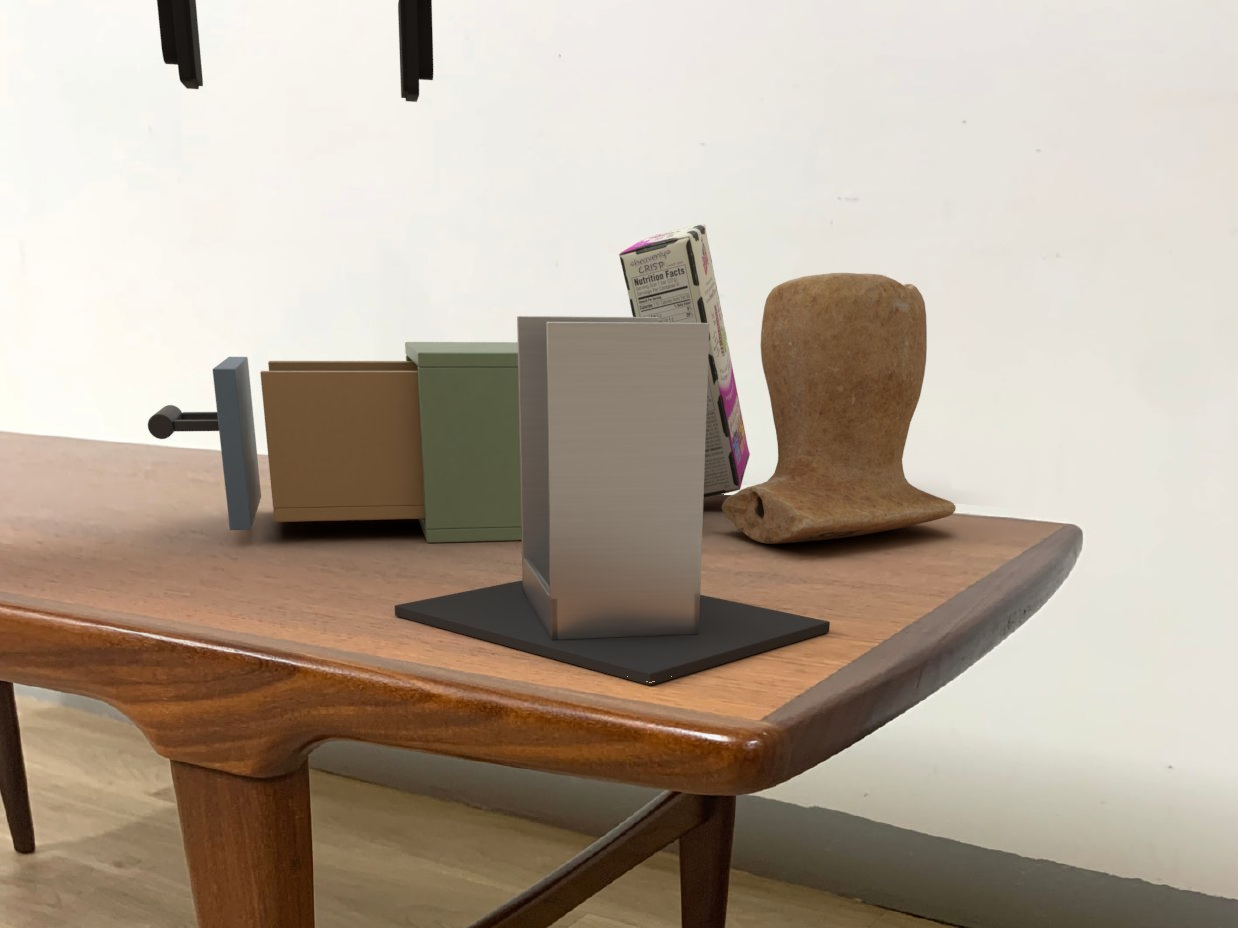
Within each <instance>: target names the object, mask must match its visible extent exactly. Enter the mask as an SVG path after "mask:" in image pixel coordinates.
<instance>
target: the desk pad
mask: <svg viewBox="0 0 1238 928" xmlns="http://www.w3.org/2000/svg"><path fill="white" fill-rule="evenodd" d="M394 616H396V617H399V618H402V619H406V620H410V621H412V622H413V621H414V622H417V623H421V624H425V625H428V626H431V627H436V628H439V629H442V630H446V631H450V632H453V633H457V634H461V635H465V636H468V637H471V638H475V639H479V640H483V641H486V642H490V643H493V644H498V645H501V646H504V647H508V648H512V649H516V650H520V651H522V652H526V653H530V654H534V655H537V656H541V657H543V658H547V659H548V658H549V659H552V660H556V661H560V662H563V663H566V664H569V665H570V664H571V665H574V666H578V667H582V668H585V669H588V670H593V671H596V672H599V673H602V674H603V673H604V674H607V675H610V676H614V677H618V678H621V679H625V680H629V681H632V682H637V683H640V684H644V685H647V686H654V685H656V684H660V683H663V682H667V681H670V680H673V679H676V678H680V677H683V676H687V675H690V674H693V673H697V672H700V671H703V670H707V669H710V668H714V667H717V666H721V665H723V664H727V663H731V662H734V661H737V660H741V659H743V658H747V657H750V656H754V655H757V654H760V653H764V652H767V651H770V650H771V651H772V650H774V649H777V648H781V647H784V646H787V645H790V644H793V643H794V644H795V643H797V642H800V641H804V640H807V639H810V638H814V637H817V636H820V635H824V634H828V633H829V632H830V627H831V621H828V620H824V619H819V618H815V617H811V616H810V617H808V616H805V615H801V614H795V613H790V612H786V611H782V610H781V611H780V610H775V609H771V608H766V607H763V606H762V607H761V606H756V605H751V604H747V603H742V602H738V601H732V600H727V599H724V598H718V597H713V596H710V595H709V596H708V595H705V594H700V617H699V634H691V635H667V636H643V637H619V638H595V639H571V640H551V638H550V637H549V635H548V633H547V632H546V630H545V629H544V627H543V625H542V624H541V622H540V621H539V619H538V617H537V616H536V614H535V612H534V611H533V609H532V608H531V606H530V604H529V603H528V601H527V599H526V598H525V596H524V595H523V581H522V579H520V580H516V581H511V582H506V583H502V584H495V585H491V586H485V587H481V588H476V589H471V590H465V591H461V592H455V593H450V594H445V595H440V596H436V597H430V598H426V599H421V600H420V599H419V600H415V601H410V602H405V603H400V604H395V605H394ZM627 676H628V677H627ZM671 676H672V677H671ZM646 681H648V682H646ZM652 681H655V682H652ZM649 682H652V683H649Z"/></svg>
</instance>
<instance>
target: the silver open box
mask: <svg viewBox="0 0 1238 928" xmlns="http://www.w3.org/2000/svg"><path fill="white" fill-rule="evenodd" d="M516 332H517V333H516V334H517V335H516V336H517V342H518V388H519V436H520V484H521V533H522V540H521V572H522V573H521V574H522V576H521V577H522V579H521V580H522V581H523V595H524V596H525V598H526V599H527V601H528V603H529V604H530V606H531V608H532V609H533V611H534V612H535V614H536V616H537V617H538V619H539V621H540V622H541V624H542V625H543V627H544V629H545V630H546V632H547V633H548V635H549V637H550V638H551V640H571V639H595V638H619V637H643V636H667V635H691V634H699V617H700V595H701V586H702V585H701V584H702V555H703V553H702V552H703V527H704V526H703V525H704V499H705V498H704V469H705V439H706V410H707V380H708V351H709V323H659V318H658V317H633V316H573V315H572V316H571V315H569V316H568V315H567V316H562V315H561V316H560V315H558V316H556V315H555V316H553V315H552V316H551V315H548V316H547V315H517V316H516Z"/></svg>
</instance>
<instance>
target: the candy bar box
mask: <svg viewBox="0 0 1238 928" xmlns="http://www.w3.org/2000/svg"><path fill="white" fill-rule="evenodd" d="M710 250H711V249H710V246H709V240H708V235H707V228H706V224H703V223H701V224H695V225H690V226H686V227H683V228H678V229H674V230H669V231H667V232H664V233H660V234H655V235H652V236H649V237H647V238H644V239H642V240H640V241H639V242H636V243H635V244H633V245H631V246H629V247H628V248H626V249H624V250H623V251H621V252H619V253H618V256H619V261H620V264H621V269H622V273H623V277H624V282H625V285H626V290H627V296H628V300H629V304H630V305H629V306H630V311H631V315H632V317H658V318H659V323H709V351H708V380H707V410H706V439H705V469H704V499H707V498H710V497H716V496H720V495H724V494H729V493H732V492H733V493H734V492H738V491H740V490H741V488H742V484H743V480H744V476H745V472H746V468H747V466H748V462H749V458H750V455H751V453H750V449H749V446H748V441H747V434H746V430H745V424H744V420H743V414H742V409H741V405H740V399H739V394H738V389H737V385H736V378H735V374H734V368H733V363H732V358H731V353H730V348H729V347H730V346H729V342H728V337H727V331H726V327H725V323H724V322H725V321H724V318H723V317H724V316H723V312H722V311H723V310H722V307H721V302H720V301H721V300H720V297H719V293H718V287H717V281H716V276H715V270H714V265H713V260H712V255H711V251H710Z"/></svg>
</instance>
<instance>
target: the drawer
mask: <svg viewBox="0 0 1238 928" xmlns="http://www.w3.org/2000/svg"><path fill="white" fill-rule="evenodd" d="M267 367H268V370H261V371H260V372H259V373H260V384H261V395H262V404H263V405H262V406H263V415H264V416H263V417H264V425H265V436H266V446H267V447H266V448H267V458H268V467H269V469H268V470H269V478H270V488H271V490H270V491H271V498H272V499H271V500H272V508H273V509H272V511H273V520H274V522H275V523H290V522H291V523H292V522H293V523H294V522H296V523H298V522H334V521H335V522H337V521H378V520H379V521H381V520H384V521H385V520H419V519H425V508H424V488H423V468H422V448H421V427H420V407H419V387H418V366H417V365H416V364H415V363H414V362H413V361H406V360H268V362H267ZM249 368H250V367H249V358H248V356H227V358H225V359H224V360H223V361H221V362H220V363H219V364H217V365H216V366H215V367H213V368H212V378H213V386H214V388H213V389H214V395H215V397H214V398H215V406H216V411H183V412H182V410H181V409H180V408H179V407H178V406H176V405H173V404H167V405H164V406H163V407H162V408H160V409H159V410H158V411H156V412H155V413H154V414H152V416H150V417H149V419H148V421H147V429H148V431H149V433H150V434H151V436H152V437H154V438H156V439H159V440H165V439H168V438H170V437H171V436H172V435H173V434H175V432H218V434H219V444H220V451H221V460H222V469H223V480H224V489H225V497H226V506H227V517H228V525H229V530H230V531H251V530H252V528H253V525H254V521H255V519H256V515H257V512H258V509H259V505H260V503H261V499H262V490H261V481H260V480H261V479H260V470H259V459H258V448H257V439H256V430H255V419H254V417H255V416H254V407H253V399H252V388H251V376H250V369H249Z"/></svg>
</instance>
